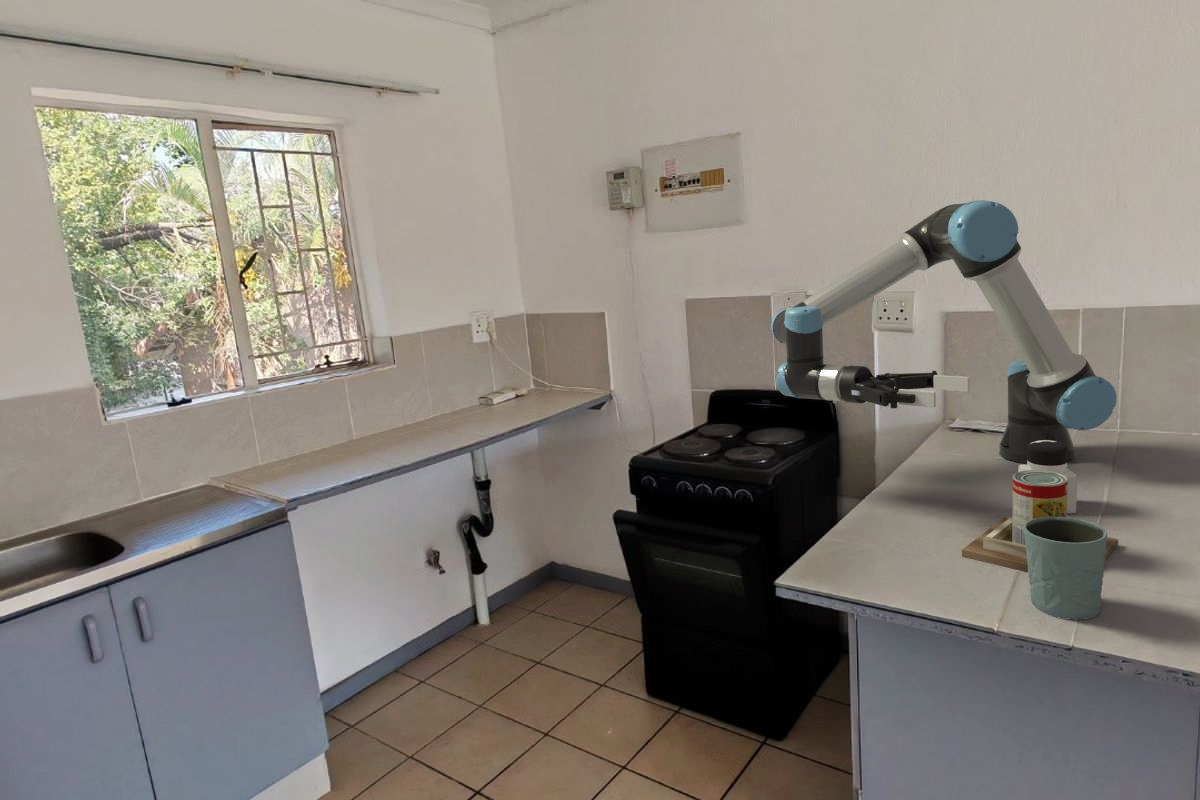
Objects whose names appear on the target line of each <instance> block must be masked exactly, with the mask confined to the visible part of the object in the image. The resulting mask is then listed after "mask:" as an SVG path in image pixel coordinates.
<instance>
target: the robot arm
mask: <svg viewBox="0 0 1200 800" xmlns="http://www.w3.org/2000/svg"><path fill="white" fill-rule="evenodd" d="M1018 235H1019V225H1018V220H1017V218H1016V217H1015V215H1014V213H1013V212H1012V210H1010V209H1009V208H1008V207H1007V206H1006V205H1003V204H1001V203H999V202H996V201H992V200H991V201H989V200H973V201H969V202H965V203H955V204H954V203H953V204H950V205H946V206H944V207H942V208H939V209H938V210H936V211H935V212H933V213H931V214H930V215H928V216H926V217H925V218H924V219H923V220H921V221H920V222H918V223H917V224H915V225H914V226H912V227H911V228H909V229H908V230H906V231H904V232H903V233H901V234H900V236H899V237H900V238H899V241H897V242H895V243H894V244H893V245H890V246H889V247H888V248H886V249H885V250H883V251H881V252H880V253H878V254H876V255H874V256H873V257H871V258H870V259H868V260H867V261H865V262H863V263H862V264H860V265H859V266H857V267H855V268H854V269H852V270H851V271H849V272H847V273H846V274H844V275H842V276H841V277H839V278H838V279H835V281H832V282H831V283H830V284H828V285H826V286H824V288H821V289H820V290H819V291H817V292H815V293H813V294H812V295H811V296H809V297H807V298H805V299H804V300H802V301H801V302H799V303H798V304H796V305H795V306H793V307H789V308H787V309H783V310H781V311H779V312H777V313H776V314H775V315H774V316H773V318H772V320H771V323H770V330H771V333H772V335H773V336H774V337H775V339H776V340H777V341H779V343H781V344H784V345H785V347H786V362H784V363H782V364H781V365H780V366H779V367H778V369H777V375H776V377H775V384H776V388H777V390H778V391H779V392H780V393H781V394H782V395H783V396H787V397H794V398H797V399H807V400H808V399H809V400H810V399H811V400H823V401H832V403H833V404H838V402H842V403H843V402H846V403H851V404H859V405H860V404H864V403H867V402H868V403H872V404H875V405H878V406H881V407H890V409H898V405H902V406H913V407H925V408H936V407H937V392H936V391H938V390H939V391H950V392H951V391H953V392H965V393H969V392H970V390H971V384H970V379H971V377H970V376H962V375H961V376H960V375H958V376H957V375H943V374H938V372H937V370H932V371H931V372H910V373H908V372H907V373H904V372H903V373H890V372H889V373H888V372H886V373H884V374H876V376H874V375H873V374H872V371H871V369H869V368H868V367H867V366H865V365H846V364H833V363H832V364H831V363H830V364H827V363H826V364H825V363H824V337H823V333H824V332H823V328H824V327H826V326H828V325H829V324H831V323H832V322H834V321H836V320H837V319H839V318H841V317H842V316H844V315H845V314H847V313H849V312H851V311H852V310H854V309H855V308H857V307H858V306H861V305H862V304H863V303H865V302H867V301H868V300H870V299H872V298H873V297H876V296H877V295H878V294H880V293H881V292H883V291H885V290H887V289H888V288H890V287H891V286H893V285H895V284H897V283H898V282H899V281H901V280H903V279H904V278H907V277H908V276H910V275H911V274H913V273H914V272H916V271H918V270H919V271H926V270H928V269H929V268H931V267H933V266H934V265H935V266H936V265H937V264H940V263H943V262H947V261H950V260H953V262H954V264H955V265H956V267H957V268H958V270H959V271H960V273H961V275H962V276H963V278H964V279H965V280H969V281H970V280H971V281H975V282H976V284H977V286H978V287H979V289H980V291H981V293H982V294H983V296H984V298H985V299H986V301H987V302H988V305H990V308H991V310H992V311H993V313H994V314H995V316H996V317H997V320H998V321H999V323H1000V324H1001V326H1002V328H1003V329H1004V331H1005V332H1006V335H1007V336H1008V337H1009V339H1010V341H1011V342H1012V344H1013V346H1014V348H1015V350H1016V351H1017V353H1018V354H1019V356H1020V358H1021V359H1018V360H1014V361H1012V362H1011V363H1009V365H1008V369H1007V370H1008V371H1007V375H1006V378H1007V424H1006V427H1005V430H1004V432H1003V435H1002V437H1001V440H1000V442H999V448H998V450H999V456H1000V455H1001V456H1000V457H1002V458H1003V459H1005V460H1008V461H1011V460H1012V462H1015V461H1016V462H1015V463H1020V464H1027V454H1028V445H1029V444H1030V443H1032V442H1035V441H1042V440H1049V441H1056V442H1060V443H1062V444H1064V445H1066V446H1067V448H1068V450H1067V462H1070V461H1072V460H1073V459H1074V458H1075V446H1074V443H1073V441H1072V438H1071V435H1070V433H1069V429H1072V430H1075V431H1076V430H1077V431H1089V430H1093V429H1095V428H1097V427H1100V426H1101V425H1102V424H1104V423H1105V422H1107V420H1108V419H1109V418H1110V417H1111V415H1112V414H1113V410H1114V408H1115V407H1116V405H1117V401H1118V400H1117V397H1118V396H1117V392H1116V390H1115V387H1114V386H1113V384H1112V383H1111V382H1109V381H1108V380H1107V379H1105V377H1102V376H1097V375H1096V373H1095V371H1094V370H1093V368H1092V366H1091V365H1090V363H1089V361H1088V360H1087V358H1086V356H1085V355H1082V354H1079V353H1074V352H1073V351H1072V350H1071V348H1070V346H1069V344H1068V342H1067V341H1066V339H1065V337H1064V336H1063V334H1062V332H1061V330H1060V329H1059V327H1058V325H1057V324H1056V322H1055V320H1054V318H1053V317H1052V315H1051V314H1050V312H1049V310H1048V308H1047V307H1046V305H1045V303H1044V302H1043V300H1042V298H1041V297H1040V295H1039V293H1038V291H1037V290H1036V288H1035V286H1034V284H1033V282H1032V281H1031V280H1030V277H1029V276H1028V275H1027V272H1026V271H1025V269H1024V267H1023V266H1022V264H1021V262H1020V260H1019V257H1020V254H1021V251H1022V246H1021V245H1020V243H1019V242H1018V238H1017V237H1018ZM931 388H932V389H933V390H936V391H930V390H929V391H928V390H921V389H931ZM917 389H918V390H917ZM919 389H920V390H919Z"/></svg>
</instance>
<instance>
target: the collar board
mask: <svg viewBox="0 0 1200 800" xmlns="http://www.w3.org/2000/svg"><path fill="white" fill-rule="evenodd" d="M1012 526H1013V515H1012V516H1011V517H1005V516H1004V517H1002V519H1001V520H999V521H998V522H996V523H995V524H994V525H993V526H991V527H990V528H989V529H987V530H986V531H985V532H983V533H982V534H981V535H979V536H978V537H976V538H975V539H974V540H972V541H971V542H970V543H969V544H968V545H966V546H965V547H963V548H962V549H961V557H964V558H968V559H971V560H972V559H973V560H977V561H980V562H984V563H989V564H993V565H997V566H1002V567H1005V568H1010V569H1014V570H1018V571H1021V572H1022V571H1023V572H1025V573H1026V572H1027V573H1028V563H1027V551H1026V545H1023V544H1018V543H1013V542H1012ZM1118 547H1119V538H1113V537H1110V536H1109V537H1108V536H1107V543H1106V551H1105V555H1104V559H1105V560H1107V558H1108V557H1109V556H1110V555H1112V553H1113V552H1114V551H1115V550H1116V549H1117V548H1118Z"/></svg>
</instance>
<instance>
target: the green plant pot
mask: <svg viewBox="0 0 1200 800" xmlns="http://www.w3.org/2000/svg"><path fill="white" fill-rule="evenodd" d="M1024 536H1025V544H1026V551H1027V563H1028V572H1027V573H1028V582H1029V584H1030V587H1029V588H1030V589H1029V592H1030V593H1029V595H1030V602H1031V604H1032V606H1033V605H1034V606H1035V607H1036V608H1037V609H1036V608H1035V607H1034V606H1033V607H1034V608H1035V609H1036V610H1038V609H1039V610H1040V611H1039V610H1038V611H1039V612H1041V611H1042V612H1041V613H1043V612H1044V613H1043V614H1045V613H1046V614H1045V615H1047V614H1048V616H1050V615H1051V617H1054V618H1057V617H1060V618H1059V619H1062V618H1069V619H1068V620H1070V619H1082V620H1086V619H1085V618H1088V619H1092V618H1091V617H1093V618H1095V617H1096V616H1097V615H1099V613H1100V610H1101V604H1102V590H1103V584H1104V583H1103V578H1104V570H1105V561H1106V559H1104V555H1105V551H1106V543H1107V537H1108V531H1107V530H1106V529H1105V528H1104V527H1103V526H1101V525H1100V524H1097V523H1095V522H1093V521H1092V522H1091V521H1088V520H1084V519H1080V518H1077V517H1076V518H1075V517H1069V516H1067V517H1042V518H1036V519H1033V520H1030V521H1028V522H1027V523H1026V524H1025V525H1024ZM1095 615H1096V616H1095ZM1094 616H1095V617H1094Z"/></svg>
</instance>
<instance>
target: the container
mask: <svg viewBox="0 0 1200 800" xmlns="http://www.w3.org/2000/svg"><path fill="white" fill-rule="evenodd" d="M1067 450H1068V448H1067V446H1066V445H1064V444H1062V443H1060V442H1056V441H1049V440H1042V441H1035V442H1032V443H1030V444H1029V445H1028V454H1027V463H1024V464H1018V472H1021V471H1027V470H1042V471H1051V472H1056V473H1059V474H1062V475H1064V476H1066V477H1067V479H1068V490H1067V515H1069V514H1076V512H1077V495H1078V494H1077V493H1078V485H1077V484H1078V476H1077V474H1076V473H1074V472H1073V471H1072V470H1070V469H1069V468H1068V461H1067Z"/></svg>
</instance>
